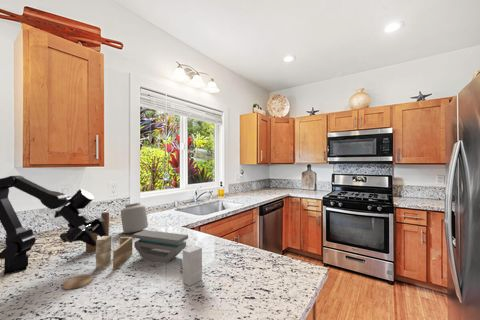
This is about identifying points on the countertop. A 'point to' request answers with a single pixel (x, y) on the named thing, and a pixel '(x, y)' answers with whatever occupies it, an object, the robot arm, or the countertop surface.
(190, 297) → the countertop surface
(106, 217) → the wooden block
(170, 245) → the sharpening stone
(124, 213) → the jar
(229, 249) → the countertop surface
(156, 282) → the countertop surface
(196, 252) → the skincare box
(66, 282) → the coaster
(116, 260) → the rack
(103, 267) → the pale wood block
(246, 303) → the countertop surface
